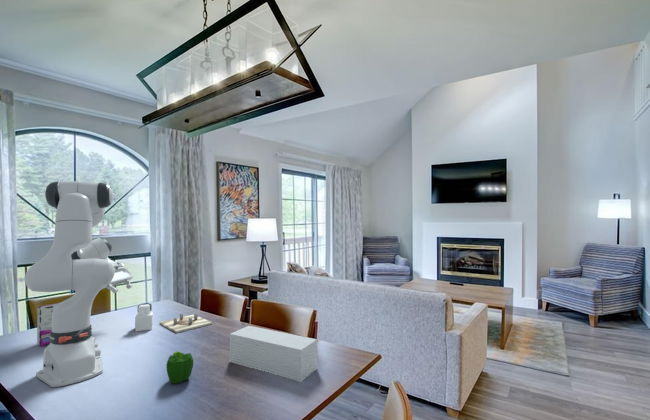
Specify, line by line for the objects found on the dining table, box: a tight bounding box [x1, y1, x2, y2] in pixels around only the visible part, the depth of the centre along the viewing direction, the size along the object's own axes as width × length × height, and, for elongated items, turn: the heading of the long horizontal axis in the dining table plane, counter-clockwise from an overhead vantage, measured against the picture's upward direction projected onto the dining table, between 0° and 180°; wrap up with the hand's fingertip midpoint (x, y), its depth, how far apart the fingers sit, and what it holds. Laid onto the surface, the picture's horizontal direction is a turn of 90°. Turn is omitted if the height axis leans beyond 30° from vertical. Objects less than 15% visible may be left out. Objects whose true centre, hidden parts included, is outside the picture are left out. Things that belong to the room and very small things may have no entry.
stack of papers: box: [229, 325, 318, 383], centre depth 119 cm, size 32×11×11 cm, turn 62°
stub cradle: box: [159, 313, 213, 334], centre depth 166 cm, size 20×18×4 cm
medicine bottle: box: [134, 302, 154, 332], centre depth 159 cm, size 7×7×12 cm
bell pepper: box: [166, 351, 194, 385], centre depth 108 cm, size 8×8×10 cm
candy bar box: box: [36, 302, 60, 348], centre depth 142 cm, size 11×5×16 cm, turn 143°
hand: (123, 289), depth 161 cm, fingers open, 8 cm apart
